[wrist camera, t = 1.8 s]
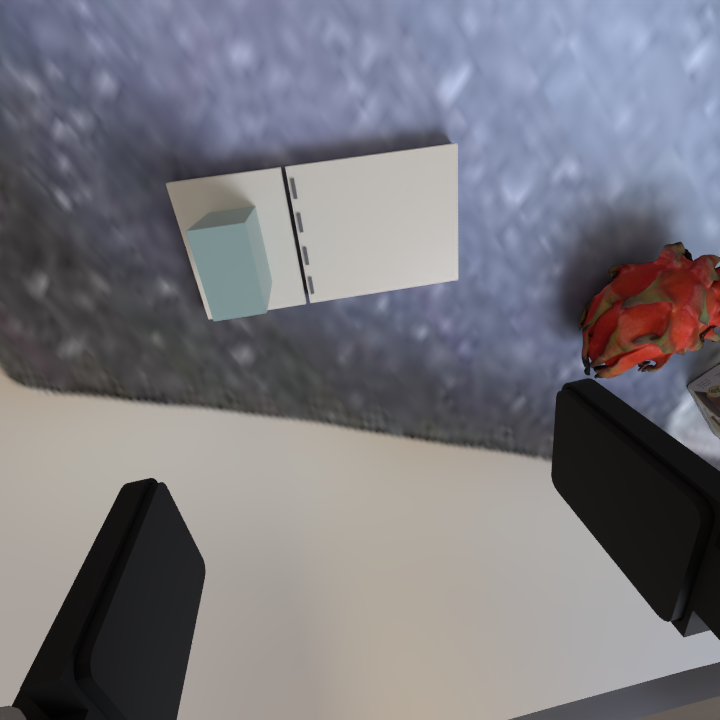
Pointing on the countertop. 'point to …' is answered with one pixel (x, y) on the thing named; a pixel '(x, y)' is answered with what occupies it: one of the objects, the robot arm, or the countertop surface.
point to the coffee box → (708, 397)
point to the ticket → (377, 221)
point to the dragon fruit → (652, 312)
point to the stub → (239, 242)
